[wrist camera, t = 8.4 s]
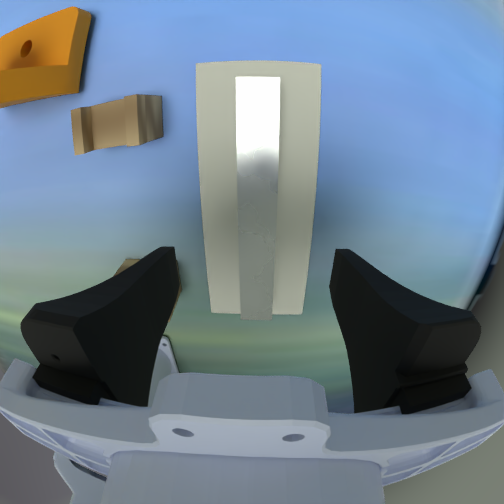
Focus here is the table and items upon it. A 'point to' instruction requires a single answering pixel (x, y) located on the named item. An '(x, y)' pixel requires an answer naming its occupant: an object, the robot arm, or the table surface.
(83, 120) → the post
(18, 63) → the bracket
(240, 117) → the rail
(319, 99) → the mat
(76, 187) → the table surface
